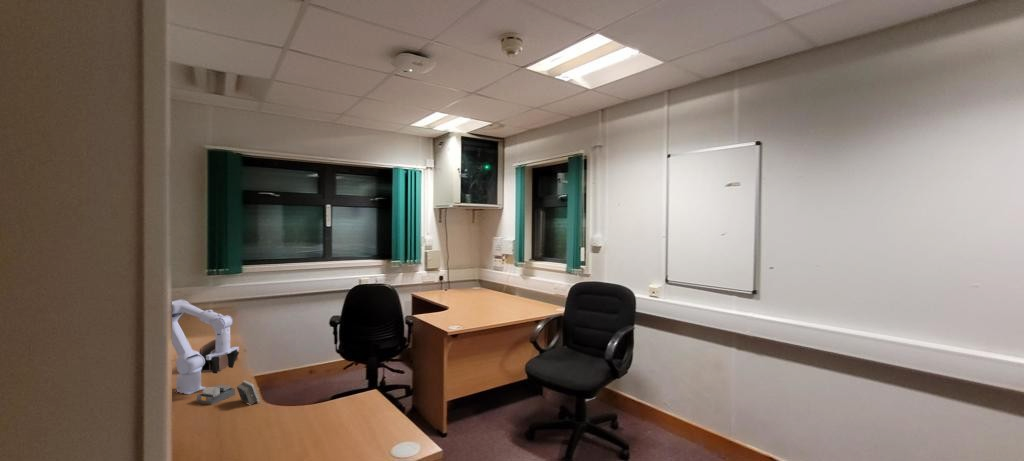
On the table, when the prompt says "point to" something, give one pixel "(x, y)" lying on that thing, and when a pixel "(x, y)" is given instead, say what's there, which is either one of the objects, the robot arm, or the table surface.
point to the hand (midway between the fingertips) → (223, 370)
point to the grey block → (211, 391)
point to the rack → (224, 393)
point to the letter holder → (223, 360)
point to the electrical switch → (248, 393)
